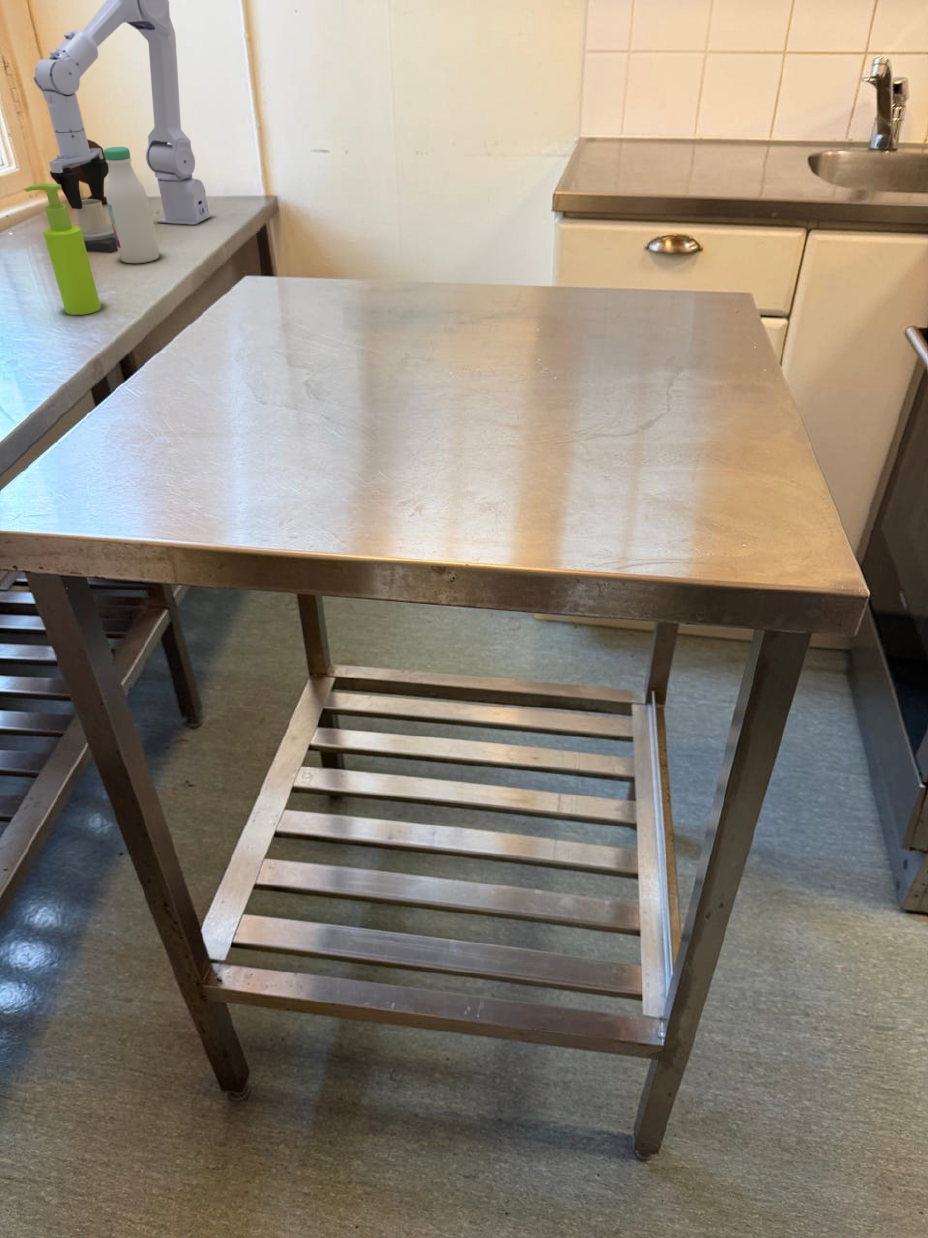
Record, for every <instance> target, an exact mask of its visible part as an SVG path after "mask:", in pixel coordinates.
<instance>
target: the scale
mask: <svg viewBox="0 0 928 1238" xmlns="http://www.w3.org/2000/svg"><path fill="white" fill-rule="evenodd" d="M107 228H108V230H107V231H105V232H102V233H96V234H83V233H82V235H83V239H84V243H85V247H86V251H87V252H96V253H98V252H99V253H110V254H111V253H113V252H116V251H118V248H117V244H116V240H115V235H114V231H113V227H112V224H107Z"/></svg>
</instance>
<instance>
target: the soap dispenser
mask: <svg viewBox="0 0 928 1238" xmlns="http://www.w3.org/2000/svg"><path fill="white" fill-rule="evenodd" d="M61 188H62V187H61V185H60V184H57V183H49V182H47V183H44V182H42V183H36V184H32V185H30V186H28V187H26V188H24V191H25V192H26V193H29V192H32V191H45V192H46V197H47V200H48V205H47V206H46V207H44V210H45V214H46V217H47V221H48V224H49V228H47V229H44V230H43V236H44V240H45V243H46V244H45V245H46V247H47V251H48V254H49V258H50V262H51V265H52V268H53V273H54V276H55V279H56V283H57V286H58V289H59V290H58V291H59V293H60V297H61V301H62V305H63V307H64V311H65V313H66V314H68V315H72V316H83V315H90V314H93V313H97V312H98V311H100V310H101V308H102V305H101V302H100V298H99V293H98V290H97V286H96V281H95V278H94V274H93V271H92V266H91V263H90V259H89V255H88V251H86V247H85V243H84V239H83V235H82V231H81V228H80V227H79V226H78V225H77V226H76V225H72V221H71V217H70V213H69V209H68V206H67V205H65V204H63V203H61V200H60V196H59V193H58V191H60V190H62V189H61Z"/></svg>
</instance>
